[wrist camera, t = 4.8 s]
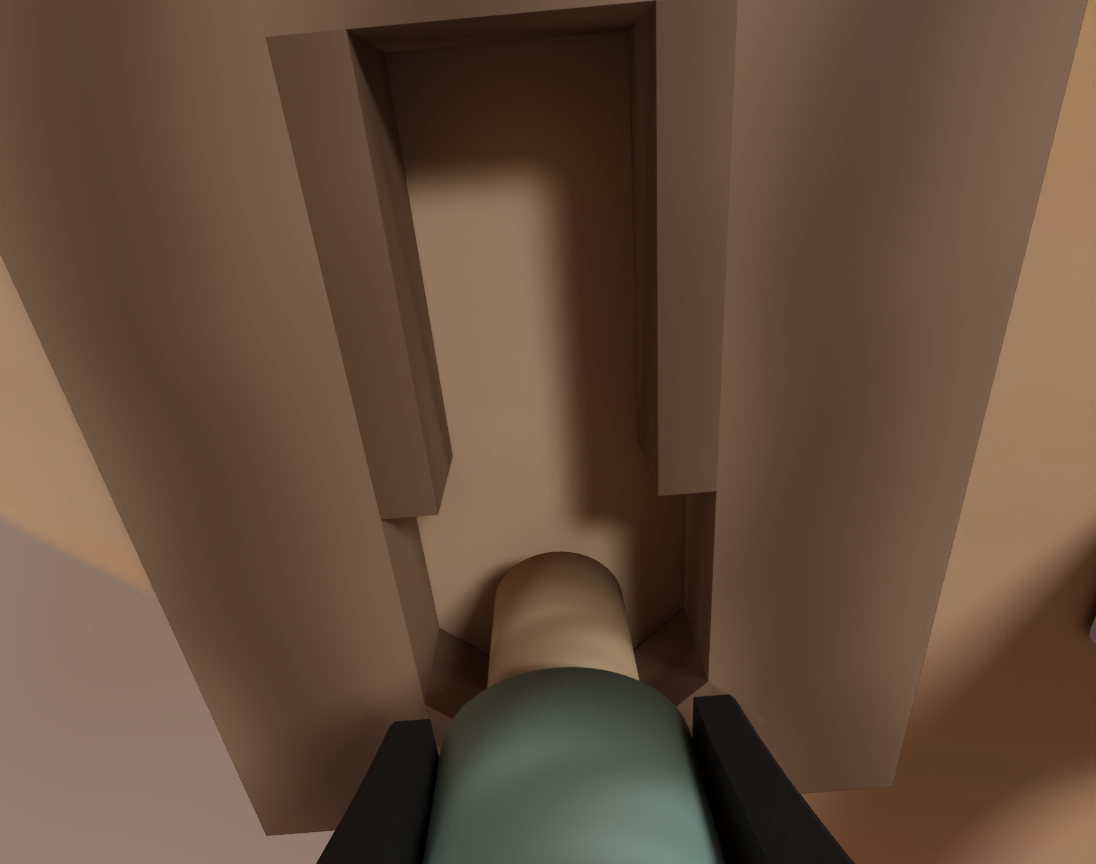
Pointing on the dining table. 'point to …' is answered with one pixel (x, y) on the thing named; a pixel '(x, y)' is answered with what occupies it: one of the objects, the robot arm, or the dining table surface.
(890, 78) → the keyhole board
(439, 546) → the dining table surface
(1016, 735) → the dining table surface
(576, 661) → the peg
